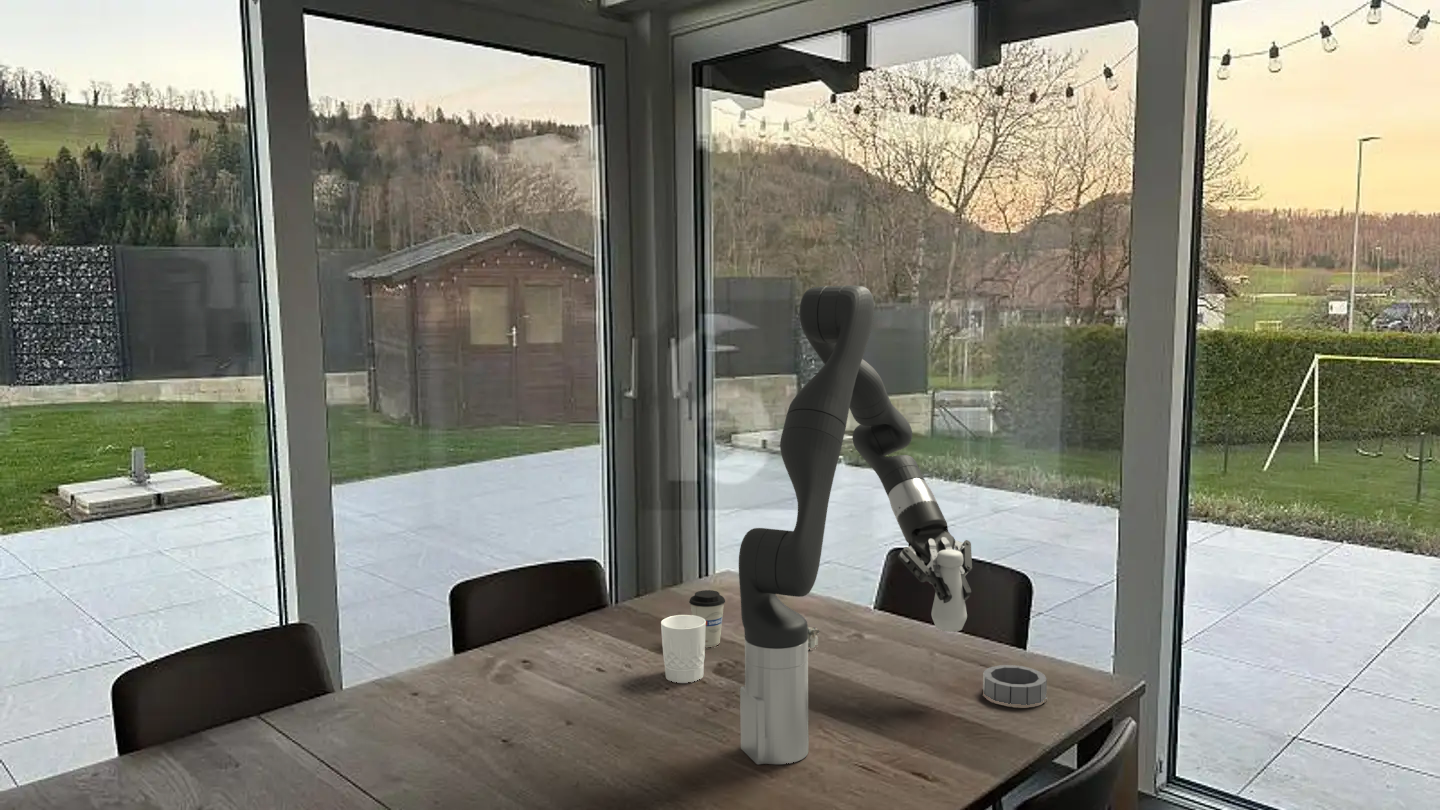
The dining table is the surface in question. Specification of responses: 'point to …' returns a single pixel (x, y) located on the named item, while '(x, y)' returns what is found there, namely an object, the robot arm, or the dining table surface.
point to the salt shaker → (954, 611)
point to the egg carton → (812, 637)
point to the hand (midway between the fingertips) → (957, 599)
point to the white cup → (683, 647)
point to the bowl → (1014, 684)
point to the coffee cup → (709, 613)
